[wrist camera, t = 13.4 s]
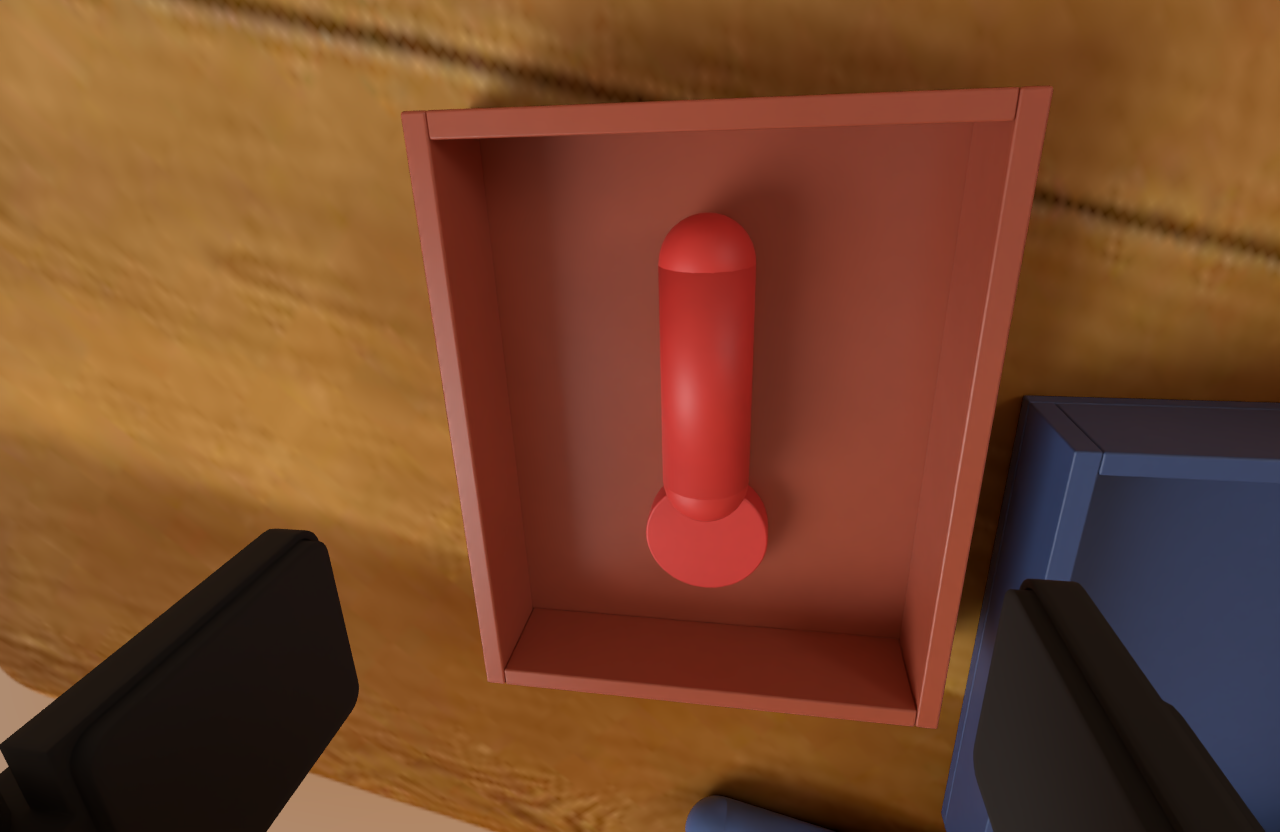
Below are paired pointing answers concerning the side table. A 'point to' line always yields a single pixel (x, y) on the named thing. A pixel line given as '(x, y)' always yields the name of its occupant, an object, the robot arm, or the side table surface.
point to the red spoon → (707, 406)
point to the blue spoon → (741, 818)
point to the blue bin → (1151, 567)
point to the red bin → (781, 382)
